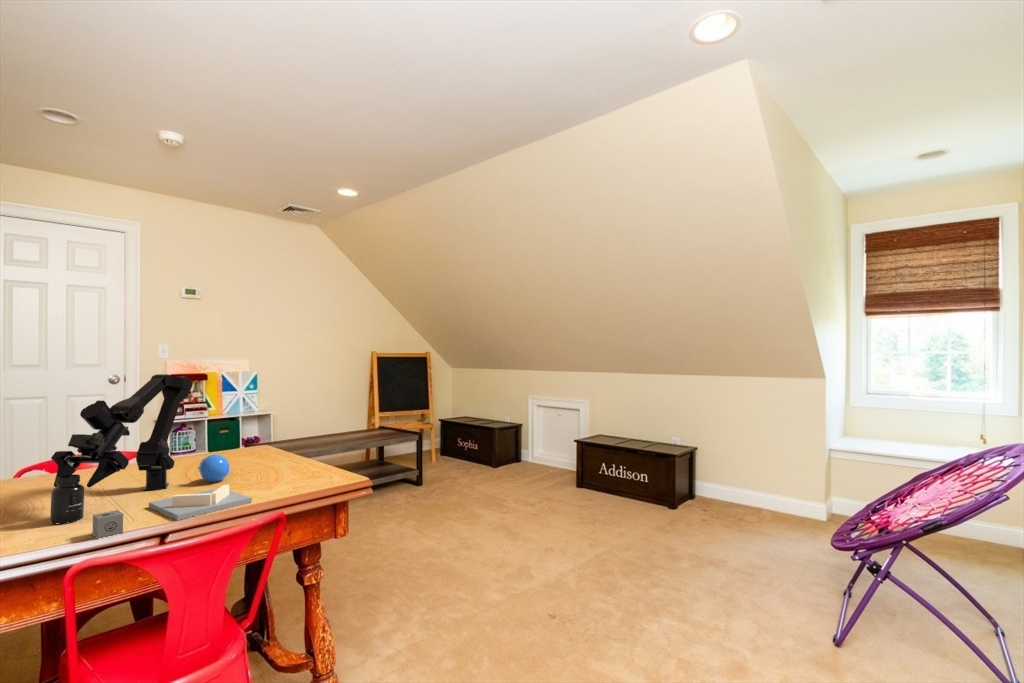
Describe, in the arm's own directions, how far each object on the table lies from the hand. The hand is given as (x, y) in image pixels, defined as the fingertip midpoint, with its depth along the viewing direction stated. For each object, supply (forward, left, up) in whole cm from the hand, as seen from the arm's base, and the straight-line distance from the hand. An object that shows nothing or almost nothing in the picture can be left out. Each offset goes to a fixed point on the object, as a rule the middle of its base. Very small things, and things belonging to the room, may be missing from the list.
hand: (71, 486), depth 138 cm
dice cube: (+19, +12, -9) cm, 24 cm away
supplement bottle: (+1, -1, -9) cm, 9 cm away
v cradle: (+2, +30, -9) cm, 32 cm away
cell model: (-29, +32, -9) cm, 44 cm away
